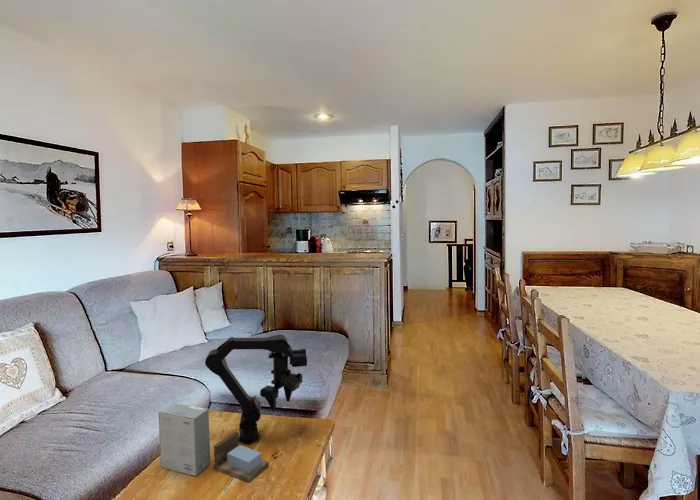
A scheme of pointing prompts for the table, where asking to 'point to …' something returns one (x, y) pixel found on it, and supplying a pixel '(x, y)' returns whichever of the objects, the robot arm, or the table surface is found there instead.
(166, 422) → the hard drive box
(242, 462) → the grey rectangular block
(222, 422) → the table surface
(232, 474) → the walnut shelf
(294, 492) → the table surface
